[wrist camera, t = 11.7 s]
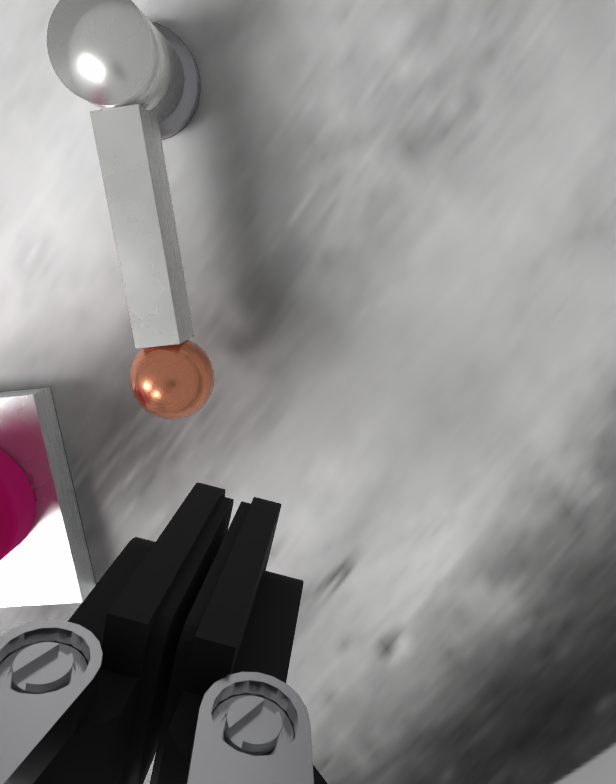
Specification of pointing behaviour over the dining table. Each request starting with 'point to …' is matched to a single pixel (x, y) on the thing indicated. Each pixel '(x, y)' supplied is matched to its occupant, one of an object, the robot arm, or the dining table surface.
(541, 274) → the dining table surface
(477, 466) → the dining table surface
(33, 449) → the press bed
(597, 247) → the dining table surface
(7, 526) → the pepper mill
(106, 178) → the lever
